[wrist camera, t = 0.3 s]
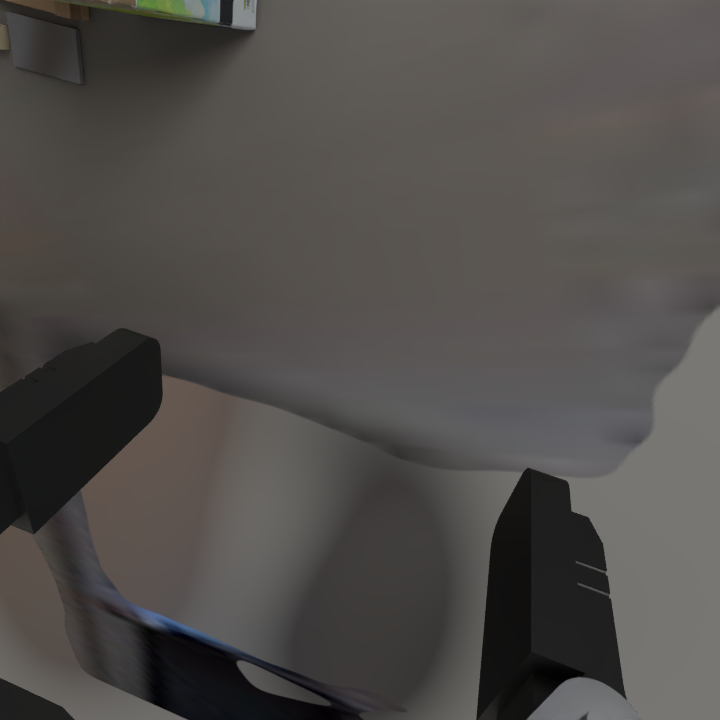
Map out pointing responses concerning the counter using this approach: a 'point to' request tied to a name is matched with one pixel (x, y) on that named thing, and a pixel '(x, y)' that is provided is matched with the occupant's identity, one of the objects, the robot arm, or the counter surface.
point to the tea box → (185, 10)
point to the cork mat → (58, 8)
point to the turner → (43, 47)
